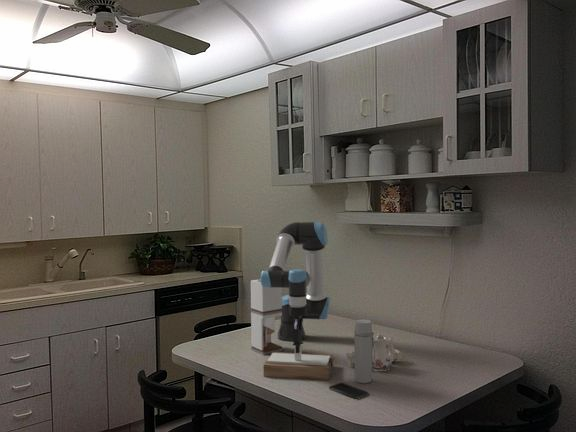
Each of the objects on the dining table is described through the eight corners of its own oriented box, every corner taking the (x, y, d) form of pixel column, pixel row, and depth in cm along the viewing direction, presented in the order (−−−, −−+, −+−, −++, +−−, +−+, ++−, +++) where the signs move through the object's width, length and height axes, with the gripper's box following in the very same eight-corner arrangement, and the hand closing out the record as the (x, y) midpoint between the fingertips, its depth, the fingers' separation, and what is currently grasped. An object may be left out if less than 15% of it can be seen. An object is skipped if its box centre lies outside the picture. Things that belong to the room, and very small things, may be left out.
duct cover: (272, 354, 233) (272, 352, 233) (329, 357, 228) (329, 355, 228) (267, 362, 222) (267, 360, 222) (327, 365, 217) (327, 363, 217)
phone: (356, 398, 193) (327, 387, 205) (356, 401, 193) (327, 389, 205) (370, 392, 198) (341, 382, 210) (370, 395, 198) (341, 384, 210)
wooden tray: (272, 362, 237) (272, 352, 237) (333, 366, 232) (333, 355, 232) (263, 376, 220) (263, 364, 219) (328, 380, 214) (328, 368, 214)
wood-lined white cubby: (263, 355, 249) (262, 283, 248) (251, 349, 258) (250, 280, 256) (282, 350, 256) (281, 280, 255) (270, 345, 264) (269, 278, 263)
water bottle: (358, 385, 208) (358, 324, 207) (351, 378, 216) (351, 319, 215) (379, 382, 211) (379, 322, 210) (371, 376, 218) (371, 318, 217)
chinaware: (393, 361, 244) (391, 325, 245) (414, 368, 228) (412, 330, 229) (341, 369, 233) (339, 332, 234) (359, 377, 218) (356, 337, 219)
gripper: (291, 302, 229) (292, 354, 230) (286, 308, 216) (286, 364, 217) (308, 302, 228) (308, 355, 228) (303, 309, 215) (304, 364, 215)
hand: (298, 359), depth 223 cm, fingers closed
